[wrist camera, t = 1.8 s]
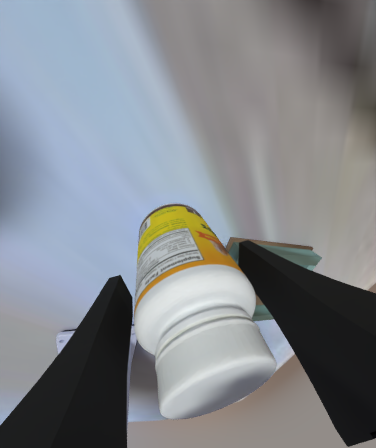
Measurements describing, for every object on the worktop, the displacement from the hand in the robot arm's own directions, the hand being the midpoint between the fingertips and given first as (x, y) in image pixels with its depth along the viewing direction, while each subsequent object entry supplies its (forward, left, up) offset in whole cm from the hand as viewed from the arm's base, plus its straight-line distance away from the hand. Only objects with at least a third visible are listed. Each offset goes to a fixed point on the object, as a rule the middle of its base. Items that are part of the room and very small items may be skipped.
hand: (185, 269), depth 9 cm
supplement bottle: (0, 0, -5) cm, 5 cm away
